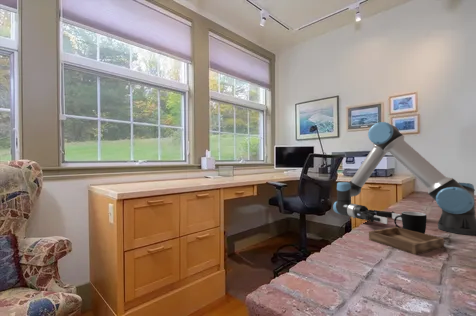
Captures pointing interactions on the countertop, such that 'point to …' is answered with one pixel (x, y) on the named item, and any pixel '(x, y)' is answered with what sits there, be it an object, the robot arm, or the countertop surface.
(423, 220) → the mug
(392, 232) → the walnut tray
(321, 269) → the countertop surface
